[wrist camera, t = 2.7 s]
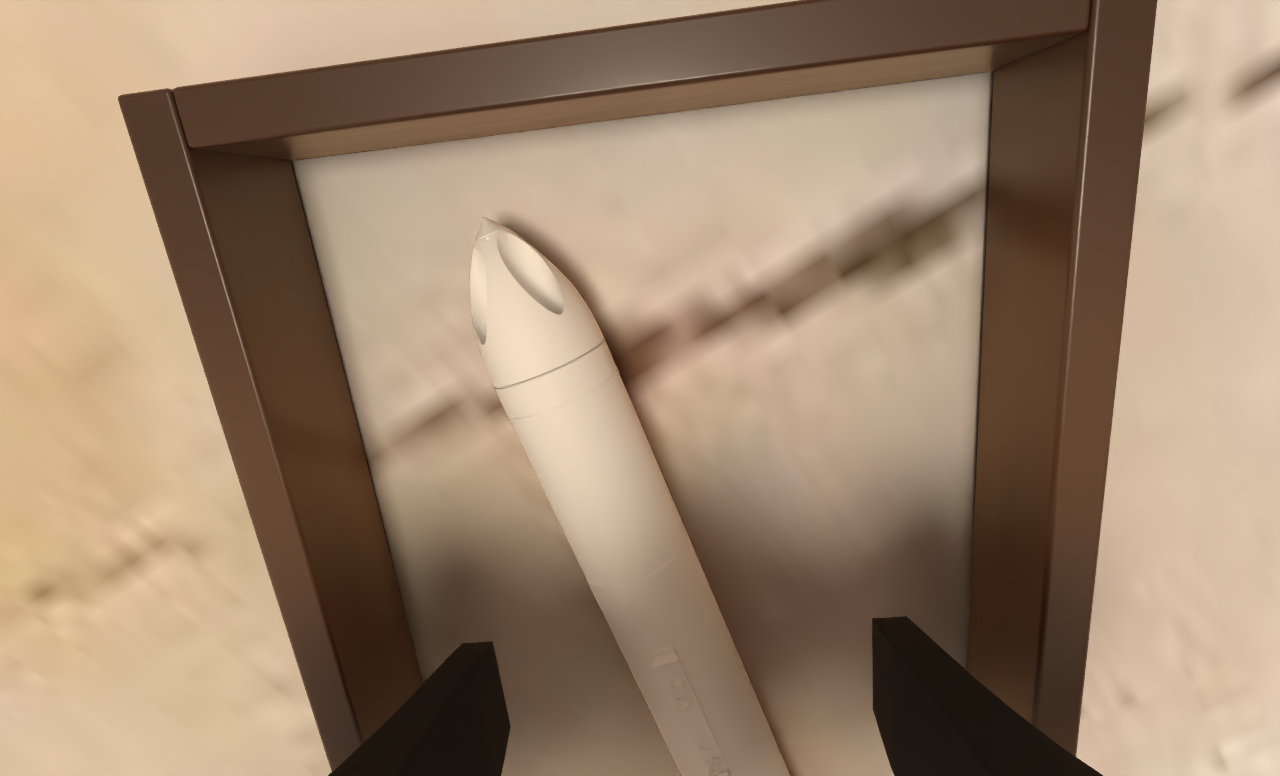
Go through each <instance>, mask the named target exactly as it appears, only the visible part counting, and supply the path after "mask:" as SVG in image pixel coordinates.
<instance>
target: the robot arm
mask: <svg viewBox="0 0 1280 776" xmlns="http://www.w3.org/2000/svg"><path fill="white" fill-rule="evenodd" d="M872 651H873V711H874V714H875V717H876V721H877V724H878V727H879V731H880V734H881V737H882V740H883V744H884V747H885V750H886V753H887V756H888V759H889V762H890V765H891V768H892V770H893V773H894V775H895V776H1103V775H1102V774H1100V773H1099V772H1097V771H1096V770H1094V769H1093V768H1091V767H1090V766H1088V765H1087V764H1085V763H1084V762H1082V761H1081V760H1079V759H1078V758H1076V757H1075V756H1074V755H1072V754H1071V753H1069V752H1068V751H1067V750H1065V749H1064V748H1062V747H1061V746H1060V745H1058V744H1057V743H1056V742H1054V741H1053V740H1052V739H1050V738H1049V737H1048V736H1046V735H1045V734H1044V733H1042V732H1041V731H1040V730H1038V729H1037V728H1036V727H1035V726H1033V725H1032V724H1031V723H1029V722H1028V721H1027V720H1025V719H1024V718H1023V717H1021V716H1020V715H1019V714H1018V713H1016V712H1015V711H1014V710H1013V709H1011V708H1010V707H1009V706H1008V705H1006V704H1005V703H1004V702H1003V701H1002V700H1001V699H999V698H998V697H997V696H996V695H995V694H993V693H992V692H991V691H990V690H989V689H987V688H986V687H985V686H984V685H983V684H982V683H980V682H979V681H978V680H977V679H976V678H974V677H973V676H972V675H971V674H970V673H969V672H968V671H966V670H965V669H964V668H963V667H962V666H961V665H960V664H959V663H957V662H956V661H955V660H954V659H953V658H952V657H951V656H950V655H949V654H947V653H946V652H945V651H944V650H943V649H942V648H941V647H940V646H939V645H937V644H936V643H935V642H934V641H933V640H932V639H931V638H930V637H929V636H928V635H926V634H925V633H924V632H923V631H922V630H921V629H920V628H919V627H918V626H917V625H915V624H914V623H913V622H912V621H911V620H910V619H909V618H907V617H906V616H905V617H889V618H872ZM509 732H510V722H509V717H508V712H507V708H506V703H505V698H504V693H503V689H502V684H501V679H500V675H499V670H498V665H497V660H496V656H495V651H494V646H493V642H477V643H462V644H461V645H460V646H459V647H458V648H457V649H456V650H455V651H454V652H453V653H452V654H451V655H450V656H449V657H448V658H447V659H446V660H445V661H444V662H443V663H442V664H441V665H440V667H439V668H438V669H437V670H436V671H435V672H434V673H433V674H432V675H431V676H430V677H429V678H428V679H427V680H426V681H425V682H424V683H423V684H422V685H421V686H420V687H419V689H418V690H417V691H416V692H415V693H414V694H413V695H412V696H411V697H410V698H409V699H408V700H407V701H406V702H405V703H404V704H403V705H402V706H401V707H400V708H399V709H398V710H397V711H396V712H395V713H394V714H393V715H392V716H391V717H390V718H389V719H388V720H387V721H386V722H385V723H384V724H383V725H382V726H381V727H380V728H379V729H378V730H377V731H376V732H375V733H373V734H372V735H371V736H370V737H369V738H368V739H367V740H366V741H365V742H364V743H363V744H362V745H361V746H360V747H359V748H358V749H356V750H355V751H354V752H353V753H352V754H351V755H350V756H349V757H348V758H347V759H346V760H345V761H344V762H343V763H342V764H340V765H339V766H338V767H337V768H336V769H335V770H334V771H333V772H332V773H330V774H329V775H328V776H501V772H502V768H503V763H504V758H505V753H506V748H507V742H508V737H509Z"/></svg>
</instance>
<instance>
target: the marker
mask: <svg viewBox="0 0 1280 776" xmlns="http://www.w3.org/2000/svg"><path fill="white" fill-rule="evenodd" d="M470 301H471V311H472V319H473V325H474V330H475V335H476V339H477V343H478V347H479V351H480V354H481V357H482V360H483V363H484V366H485V368H486V371H487V373H488V376H489V378H490V380H491V382H492V385H493V386H494V389H495V391H496V393H497V395H498V397H499V399H500V401H501V403H502V406H503V408H504V410H505V412H506V414H507V417H508V419H509V421H510V422H511V424H512V426H513V428H514V430H515V432H516V434H517V437H518V439H519V441H520V443H521V445H522V447H523V449H524V451H525V453H526V455H527V457H528V459H529V461H530V463H531V465H532V468H533V470H534V472H535V474H536V476H537V478H538V480H539V482H540V484H541V486H542V488H543V490H544V492H545V494H546V497H547V499H548V501H549V503H550V505H551V507H552V509H553V511H554V513H555V515H556V517H557V519H558V521H559V523H560V525H561V528H562V530H563V532H564V534H565V536H566V538H567V540H568V542H569V544H570V546H571V548H572V550H573V552H574V554H575V556H576V559H577V561H578V563H579V565H580V567H581V569H582V571H583V573H584V575H585V577H586V579H587V582H588V584H589V586H590V588H591V590H592V592H593V595H594V597H595V599H596V601H597V603H598V605H599V607H600V608H601V610H602V612H603V614H604V616H605V619H606V621H607V623H608V625H609V627H610V629H611V631H612V633H613V635H614V637H615V639H616V641H617V643H618V645H619V647H620V650H621V652H622V654H623V656H624V658H625V660H626V662H627V664H628V666H629V668H630V670H631V672H632V674H633V676H634V678H635V681H636V683H637V685H638V687H639V689H640V691H641V693H642V695H643V697H644V699H645V701H646V703H647V705H648V707H649V710H650V712H651V714H652V716H653V718H654V720H655V722H656V724H657V726H658V728H659V730H660V732H661V734H662V736H663V738H664V741H665V743H666V745H667V747H668V749H669V751H670V753H671V755H672V757H673V759H674V761H675V763H676V765H677V767H678V769H679V772H680V774H681V776H790V774H789V772H788V769H787V767H786V765H785V762H784V760H783V757H782V755H781V753H780V750H779V748H778V746H777V743H776V741H775V739H774V736H773V734H772V732H771V729H770V727H769V725H768V722H767V720H766V717H765V715H764V713H763V710H762V708H761V706H760V703H759V701H758V699H757V696H756V694H755V692H754V689H753V687H752V685H751V682H750V680H749V677H748V675H747V673H746V670H745V668H744V666H743V663H742V661H741V659H740V656H739V654H738V652H737V649H736V647H735V645H734V642H733V640H732V638H731V635H730V633H729V630H728V628H727V626H726V623H725V621H724V619H723V616H722V614H721V612H720V609H719V607H718V605H717V602H716V600H715V598H714V595H713V593H712V590H711V588H710V586H709V583H708V581H707V579H706V576H705V574H704V572H703V569H702V567H701V565H700V562H699V560H698V558H697V555H696V553H695V550H694V548H693V546H692V543H691V541H690V539H689V536H688V534H687V532H686V529H685V527H684V525H683V522H682V520H681V518H680V515H679V513H678V511H677V508H676V506H675V503H674V501H673V499H672V496H671V494H670V492H669V489H668V487H667V485H666V482H665V480H664V478H663V475H662V473H661V471H660V468H659V466H658V463H657V461H656V459H655V456H654V454H653V452H652V449H651V447H650V445H649V442H648V440H647V438H646V435H645V433H644V431H643V428H642V426H641V423H640V421H639V419H638V416H637V414H636V412H635V409H634V407H633V405H632V402H631V400H630V398H629V395H628V393H627V391H626V388H625V386H624V384H623V381H622V379H621V377H620V374H619V370H618V368H617V367H616V365H615V362H614V360H613V358H612V355H611V353H610V351H609V348H608V346H607V343H606V341H605V339H604V337H603V334H602V332H601V330H600V328H599V326H598V324H597V322H596V320H595V318H594V316H593V314H592V313H591V311H590V309H589V307H588V306H587V304H586V303H585V301H584V300H583V298H582V297H581V295H580V294H579V292H578V291H577V290H576V288H575V287H574V286H573V285H572V283H571V282H570V281H569V280H568V279H567V278H566V277H565V276H564V275H563V274H562V273H561V272H560V271H559V270H558V269H557V268H556V267H555V266H554V265H553V264H552V263H551V262H550V261H549V260H548V259H547V258H545V257H544V256H543V255H542V254H541V253H540V252H539V251H537V250H536V249H535V248H534V247H533V246H531V245H530V244H529V243H528V242H526V241H525V240H524V239H523V238H521V237H520V236H519V235H518V234H516V233H515V232H514V231H512V230H510V229H509V228H507V227H504V226H502V225H500V224H498V223H496V222H494V221H492V220H489V219H487V218H485V217H483V220H482V223H481V226H480V229H479V232H478V235H477V238H476V241H475V245H474V249H473V255H472V261H471V272H470Z"/></svg>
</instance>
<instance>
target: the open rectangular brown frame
mask: <svg viewBox="0 0 1280 776" xmlns="http://www.w3.org/2000/svg"><path fill="white" fill-rule="evenodd" d="M1156 8H1157V0H799V1H792V2H785V3H777V4H770V5H763V6H756V7H749V8H742V9H734V10H727V11H720V12H713V13H706V14H699V15H691V16H684V17H677V18H670V19H663V20H656V21H648V22H641V23H634V24H627V25H620V26H612V27H605V28H598V29H591V30H584V31H577V32H569V33H562V34H555V35H548V36H541V37H534V38H526V39H519V40H512V41H505V42H498V43H491V44H483V45H476V46H469V47H462V48H455V49H448V50H440V51H433V52H426V53H419V54H412V55H404V56H397V57H390V58H383V59H376V60H369V61H361V62H354V63H347V64H340V65H333V66H326V67H318V68H311V69H304V70H297V71H290V72H283V73H275V74H268V75H261V76H254V77H247V78H239V79H232V80H225V81H218V82H211V83H204V84H196V85H189V86H182V87H177V88H175V89H173V90H172V89H168V88H167V89H160V90H153V91H145V92H138V93H131V94H124V95H121V96H119V97H118V101H119V104H120V107H121V111H122V114H123V117H124V120H125V123H126V126H127V129H128V133H129V136H130V139H131V142H132V145H133V148H134V151H135V155H136V158H137V161H138V164H139V167H140V170H141V173H142V177H143V180H144V183H145V186H146V189H147V192H148V195H149V199H150V202H151V205H152V208H153V211H154V214H155V217H156V221H157V224H158V227H159V230H160V233H161V236H162V239H163V243H164V246H165V249H166V252H167V255H168V258H169V261H170V265H171V268H172V271H173V274H174V277H175V280H176V283H177V287H178V290H179V293H180V296H181V299H182V302H183V305H184V309H185V312H186V315H187V318H188V321H189V324H190V328H191V331H192V334H193V337H194V340H195V343H196V346H197V350H198V353H199V356H200V359H201V362H202V365H203V368H204V372H205V375H206V378H207V381H208V384H209V387H210V390H211V394H212V397H213V400H214V403H215V406H216V409H217V412H218V416H219V419H220V422H221V425H222V428H223V431H224V434H225V438H226V441H227V444H228V447H229V450H230V453H231V456H232V460H233V463H234V466H235V469H236V472H237V475H238V478H239V482H240V485H241V488H242V491H243V494H244V497H245V500H246V504H247V507H248V510H249V513H250V516H251V519H252V522H253V526H254V529H255V532H256V535H257V538H258V541H259V544H260V548H261V551H262V554H263V557H264V560H265V563H266V566H267V570H268V573H269V576H270V579H271V582H272V585H273V588H274V592H275V595H276V598H277V601H278V604H279V607H280V610H281V614H282V617H283V620H284V623H285V626H286V629H287V632H288V636H289V639H290V642H291V645H292V648H293V651H294V654H295V658H296V661H297V664H298V667H299V670H300V673H301V676H302V680H303V683H304V686H305V689H306V692H307V695H308V698H309V702H310V705H311V708H312V711H313V714H314V717H315V720H316V724H317V727H318V730H319V733H320V736H321V739H322V743H323V746H324V749H325V752H326V755H327V758H328V761H329V765H330V768H331V771H332V772H333V771H334V770H335V769H336V768H337V767H338V766H339V765H340V764H342V763H343V762H344V761H345V760H346V759H347V758H348V757H349V756H350V755H351V754H352V753H353V752H354V751H355V750H356V749H358V748H359V747H360V746H361V745H362V744H363V743H364V742H365V741H366V740H367V739H368V738H369V737H370V736H371V735H372V734H373V733H375V732H376V731H377V730H378V729H379V728H380V727H381V726H382V725H383V724H384V723H385V722H386V721H387V720H388V719H389V718H390V717H391V716H392V715H393V714H394V713H395V712H396V711H397V710H398V709H399V708H400V707H401V706H402V705H403V704H404V703H405V702H406V701H407V700H408V699H409V698H410V697H411V696H412V695H413V694H414V693H415V692H416V691H417V690H418V689H419V687H420V686H421V685H422V684H423V683H422V679H421V676H420V672H419V668H418V664H417V660H416V656H415V652H414V648H413V644H412V640H411V636H410V632H409V628H408V624H407V620H406V616H405V612H404V608H403V604H402V600H401V597H400V593H399V589H398V585H397V581H396V577H395V573H394V569H393V565H392V561H391V557H390V553H389V549H388V545H387V541H386V537H385V533H384V529H383V525H382V522H381V518H380V514H379V510H378V506H377V502H376V498H375V494H374V490H373V486H372V482H371V478H370V474H369V470H368V466H367V462H366V458H365V454H364V450H363V446H362V443H361V439H360V435H359V431H358V427H357V423H356V419H355V415H354V411H353V407H352V403H351V399H350V395H349V391H348V387H347V383H346V379H345V375H344V371H343V368H342V364H341V360H340V356H339V352H338V348H337V344H336V340H335V336H334V332H333V328H332V324H331V320H330V316H329V312H328V308H327V304H326V300H325V296H324V292H323V289H322V285H321V281H320V277H319V273H318V269H317V265H316V261H315V257H314V253H313V249H312V245H311V241H310V237H309V233H308V229H307V225H306V221H305V217H304V214H303V210H302V206H301V202H300V198H299V194H298V190H297V186H296V182H295V178H294V174H293V170H292V166H291V162H290V160H300V159H308V158H316V157H324V156H332V155H340V154H347V153H355V152H363V151H371V150H379V149H387V148H395V147H402V146H410V145H418V144H426V143H434V142H442V141H449V140H457V139H465V138H473V137H481V136H489V135H497V134H504V133H512V132H520V131H528V130H536V129H544V128H551V127H559V126H567V125H575V124H583V123H591V122H598V121H606V120H614V119H622V118H630V117H638V116H646V115H653V114H661V113H669V112H677V111H685V110H693V109H700V108H708V107H716V106H724V105H732V104H740V103H748V102H755V101H763V100H771V99H779V98H787V97H795V96H802V95H810V94H818V93H826V92H834V91H842V90H849V89H857V88H865V87H873V86H881V85H889V84H897V83H904V82H912V81H920V80H928V79H936V78H944V77H951V76H959V75H967V74H975V73H983V72H989V71H992V70H994V82H993V104H992V127H991V150H990V173H989V195H988V218H987V241H986V264H985V287H984V309H983V332H982V355H981V378H980V400H979V423H978V446H977V469H976V492H975V514H974V537H973V560H972V583H971V606H970V628H969V651H968V672H969V673H970V674H971V675H972V676H973V677H974V678H976V679H977V680H978V681H979V682H980V683H982V684H983V685H984V686H985V687H986V688H987V689H989V690H990V691H991V692H992V693H993V694H995V695H996V696H997V697H998V698H999V699H1001V700H1002V701H1003V702H1004V703H1005V704H1006V705H1008V706H1009V707H1010V708H1011V709H1013V710H1014V711H1015V712H1016V713H1018V714H1019V715H1020V716H1021V717H1023V718H1024V719H1025V720H1027V721H1028V722H1029V723H1031V724H1032V725H1033V726H1035V727H1036V728H1037V729H1038V730H1040V731H1041V732H1042V733H1044V734H1045V735H1046V736H1048V737H1049V738H1050V739H1052V740H1053V741H1054V742H1056V743H1057V744H1058V745H1060V746H1061V747H1062V748H1064V749H1065V750H1067V751H1068V752H1069V753H1071V754H1072V755H1074V756H1075V757H1076V751H1077V742H1078V733H1079V723H1080V714H1081V705H1082V696H1083V686H1084V677H1085V668H1086V658H1087V649H1088V640H1089V631H1090V621H1091V612H1092V603H1093V593H1094V584H1095V575H1096V565H1097V556H1098V547H1099V538H1100V528H1101V519H1102V510H1103V500H1104V491H1105V482H1106V473H1107V463H1108V454H1109V445H1110V435H1111V426H1112V417H1113V407H1114V398H1115V389H1116V380H1117V370H1118V361H1119V352H1120V342H1121V333H1122V324H1123V315H1124V305H1125V296H1126V287H1127V277H1128V268H1129V259H1130V249H1131V240H1132V231H1133V222H1134V212H1135V203H1136V194H1137V184H1138V175H1139V166H1140V157H1141V147H1142V138H1143V129H1144V119H1145V110H1146V101H1147V91H1148V82H1149V73H1150V64H1151V54H1152V45H1153V36H1154V26H1155V17H1156Z"/></svg>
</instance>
